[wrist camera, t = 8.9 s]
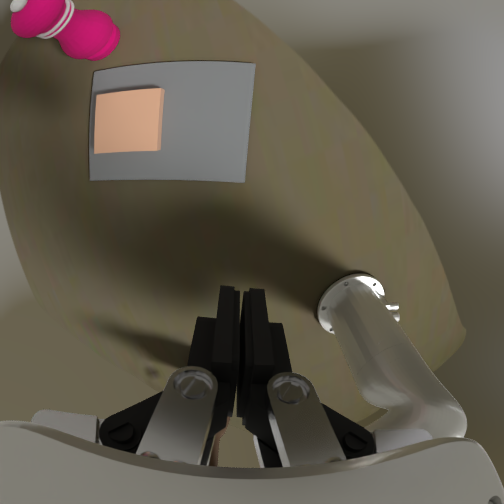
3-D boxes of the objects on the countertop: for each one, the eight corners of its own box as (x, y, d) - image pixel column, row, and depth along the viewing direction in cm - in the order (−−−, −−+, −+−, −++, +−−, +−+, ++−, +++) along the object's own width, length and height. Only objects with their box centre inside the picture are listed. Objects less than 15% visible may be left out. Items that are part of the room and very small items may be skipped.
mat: (255, 64, 28) (255, 63, 28) (244, 182, 35) (244, 182, 34) (96, 72, 26) (94, 71, 25) (91, 179, 33) (90, 180, 32)
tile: (161, 88, 26) (96, 94, 26) (157, 150, 30) (94, 153, 29) (164, 90, 28) (102, 96, 27) (161, 149, 32) (100, 152, 31)
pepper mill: (132, 38, 25) (54, -17, 7) (93, 73, 26) (-5, 51, 8) (110, 13, 22) (35, -40, 4) (73, 46, 23) (-17, 19, 5)
